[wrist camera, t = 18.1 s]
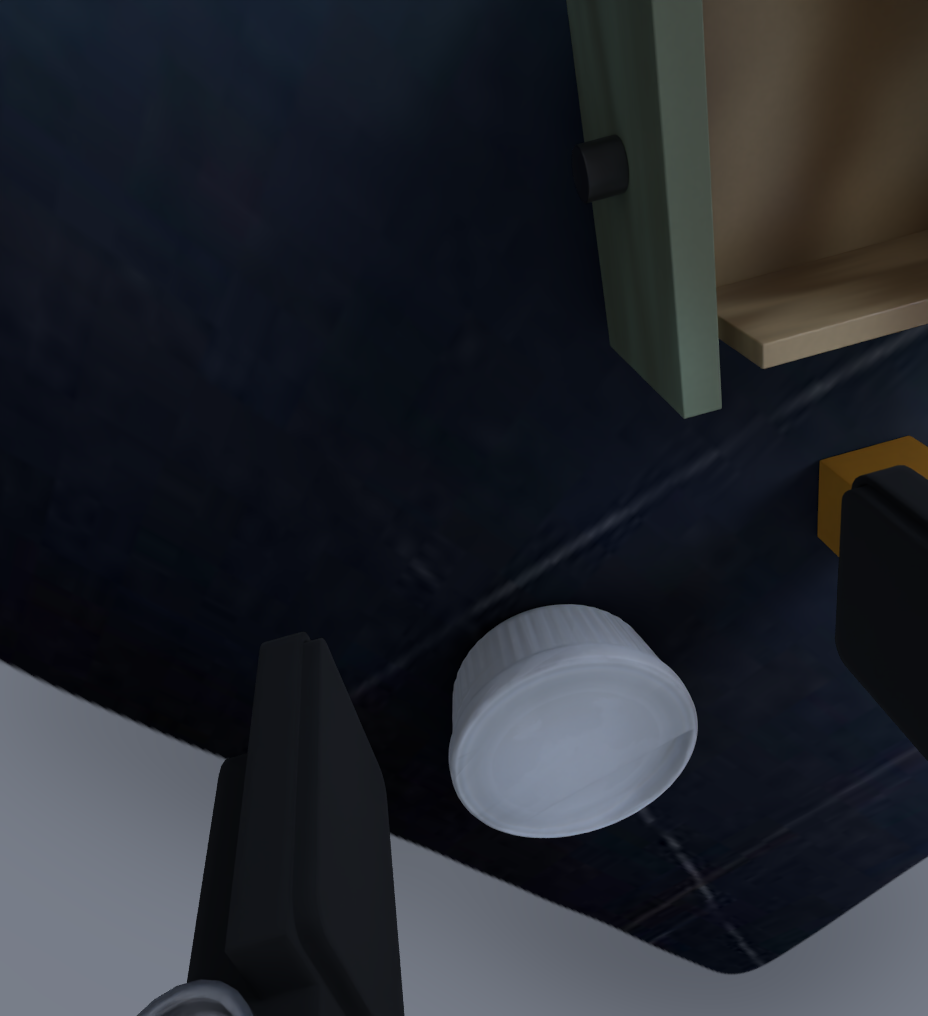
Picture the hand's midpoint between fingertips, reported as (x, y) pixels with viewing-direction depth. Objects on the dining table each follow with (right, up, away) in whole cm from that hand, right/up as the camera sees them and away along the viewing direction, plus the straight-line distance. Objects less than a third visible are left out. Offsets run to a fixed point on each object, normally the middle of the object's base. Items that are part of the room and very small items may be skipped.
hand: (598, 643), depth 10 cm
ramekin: (+2, -6, +27) cm, 28 cm away
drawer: (+8, +15, +15) cm, 22 cm away
